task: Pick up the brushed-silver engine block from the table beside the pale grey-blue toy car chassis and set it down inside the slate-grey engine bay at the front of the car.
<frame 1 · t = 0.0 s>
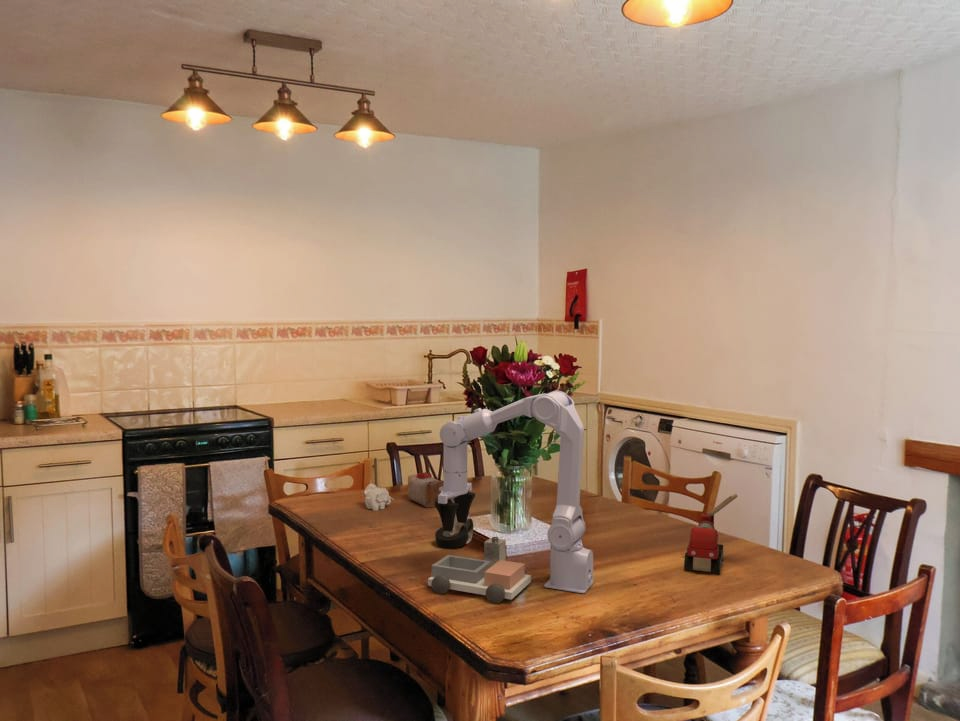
hand: (455, 526, 195), 10 cm above the table, tool pointing down, fingers open, 7 cm apart
engine block: (494, 565, 198), on the table
chassis: (479, 587, 183), on the table
caster wheel: (456, 544, 216), on the table
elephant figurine: (378, 508, 251), on the table
toy fire truck: (710, 566, 199), on the table
food item: (425, 503, 258), on the table
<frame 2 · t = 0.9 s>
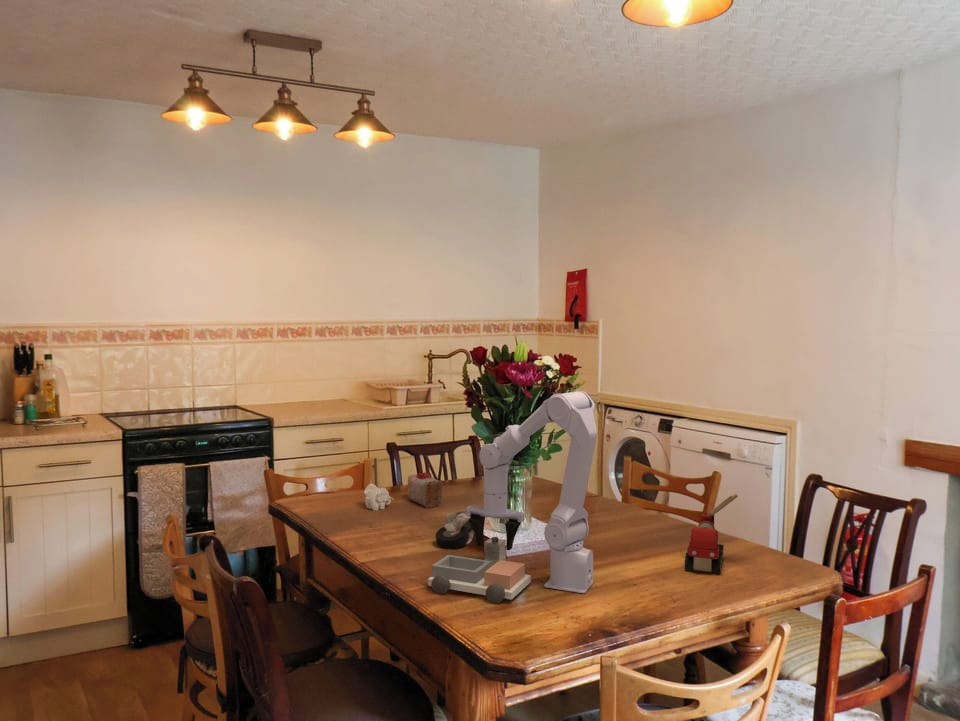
hand: (494, 547, 198), 4 cm above the table, tool pointing down, fingers open, 7 cm apart
nothing on the table moved.
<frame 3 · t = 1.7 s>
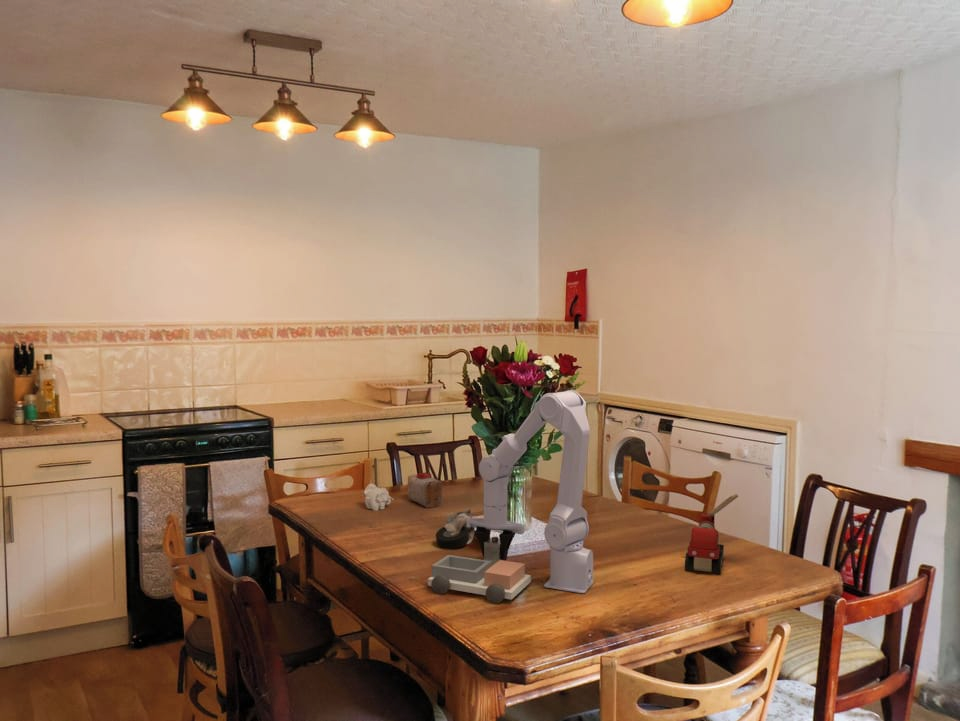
hand: (494, 559, 198), 1 cm above the table, tool pointing down, fingers closed on engine block, 4 cm apart
engine block: (494, 564, 198), on the table, touching gripper
everything else where it was.
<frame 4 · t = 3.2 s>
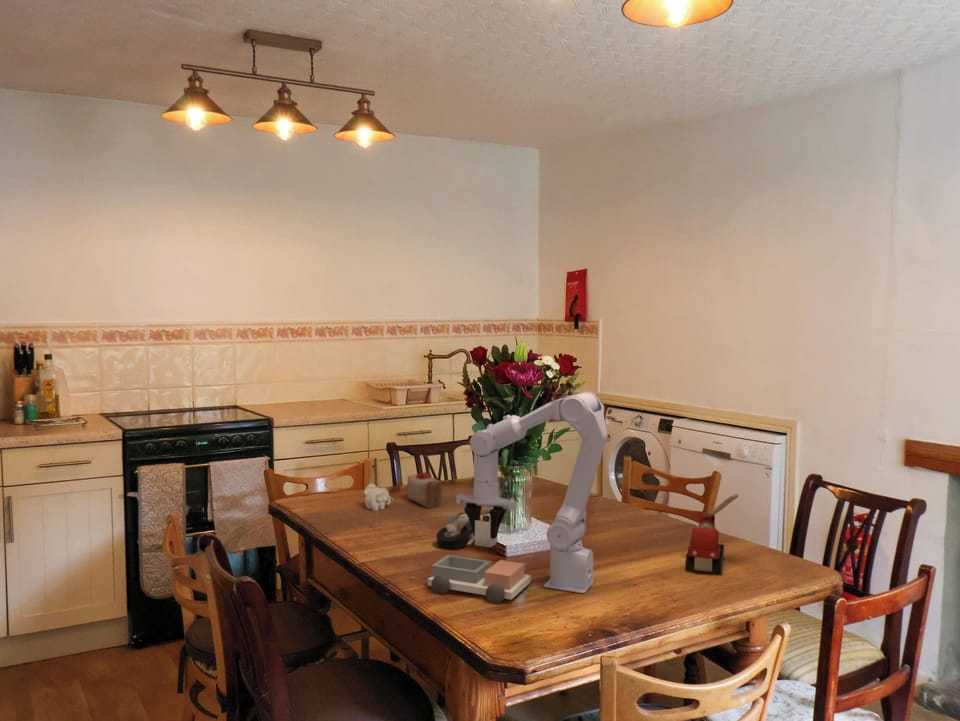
hand: (485, 536, 193), 8 cm above the table, tool pointing down, fingers closed on engine block, 4 cm apart
engine block: (485, 544, 194), point 6 cm above the table, touching gripper
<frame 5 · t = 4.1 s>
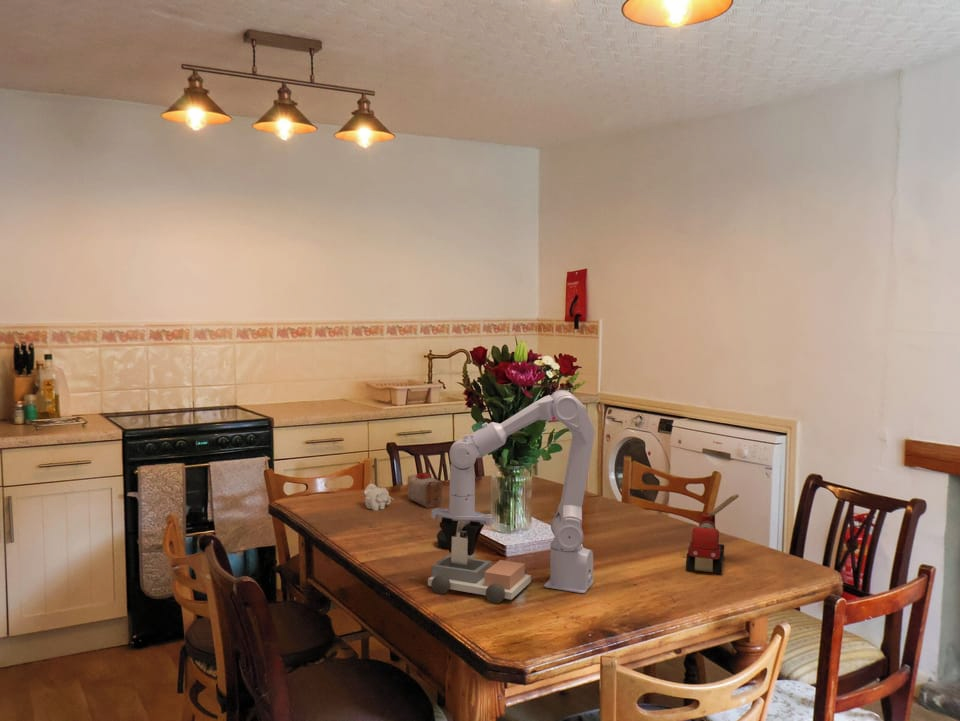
hand: (461, 552, 184), 7 cm above the table, tool pointing down, fingers closed on engine block, 4 cm apart
engine block: (462, 561, 185), point 5 cm above the table, touching gripper
when the fingers open (5 cm above the table, at t = 4.8 s): engine block stays where it is, resting on chassis.
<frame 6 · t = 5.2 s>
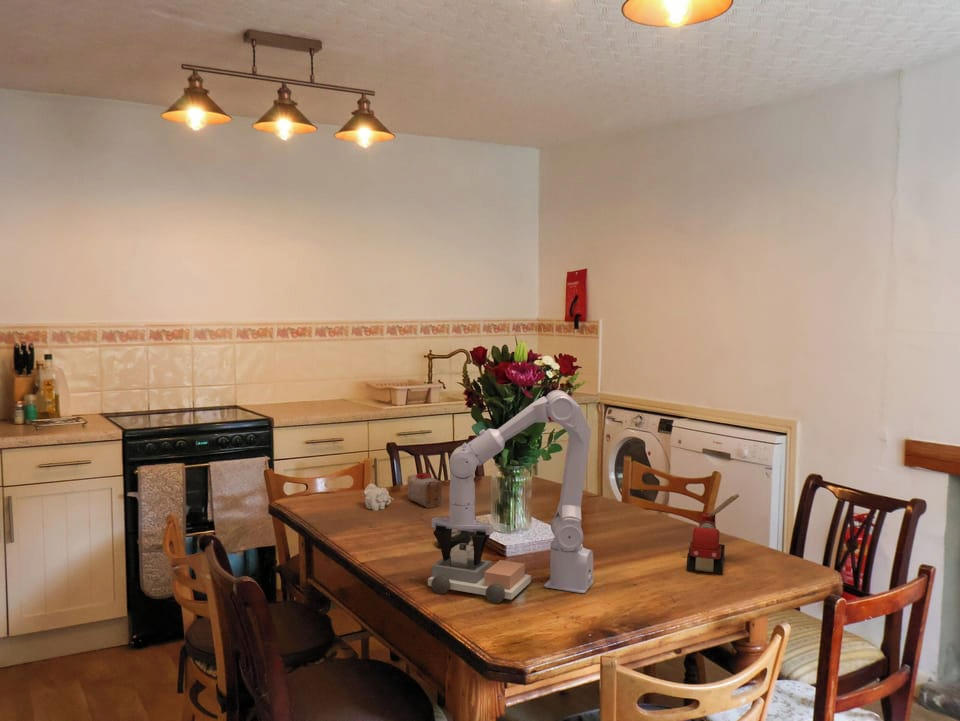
hand: (461, 561, 184), 5 cm above the table, tool pointing down, fingers open, 7 cm apart
engine block: (462, 573, 185), point 2 cm above the table, touching chassis
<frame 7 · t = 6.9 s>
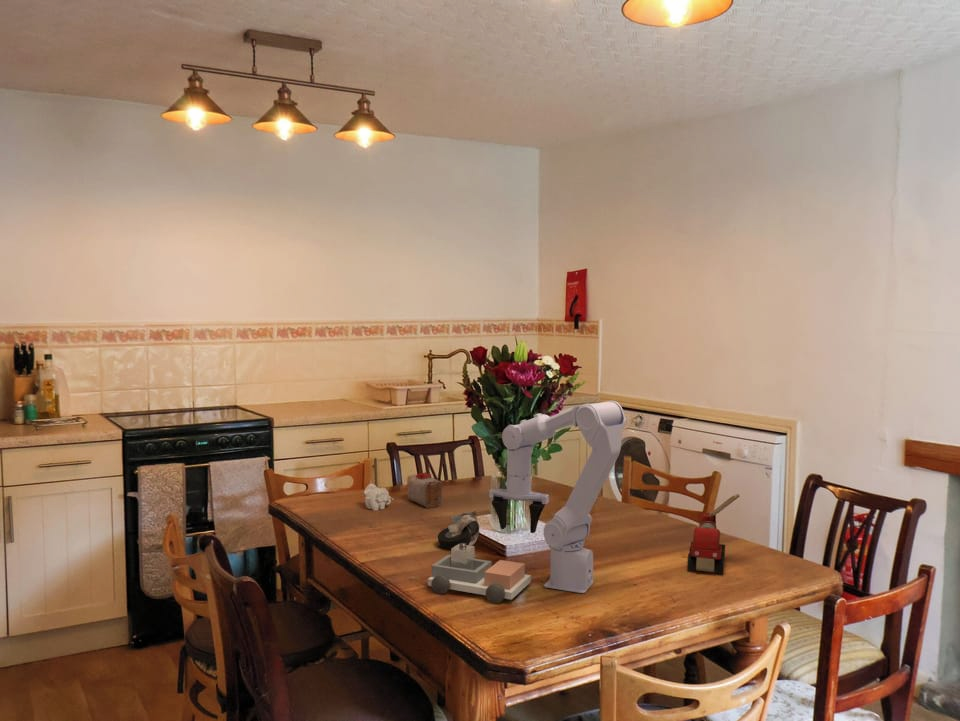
hand: (518, 530, 195), 9 cm above the table, tool pointing down, fingers open, 7 cm apart
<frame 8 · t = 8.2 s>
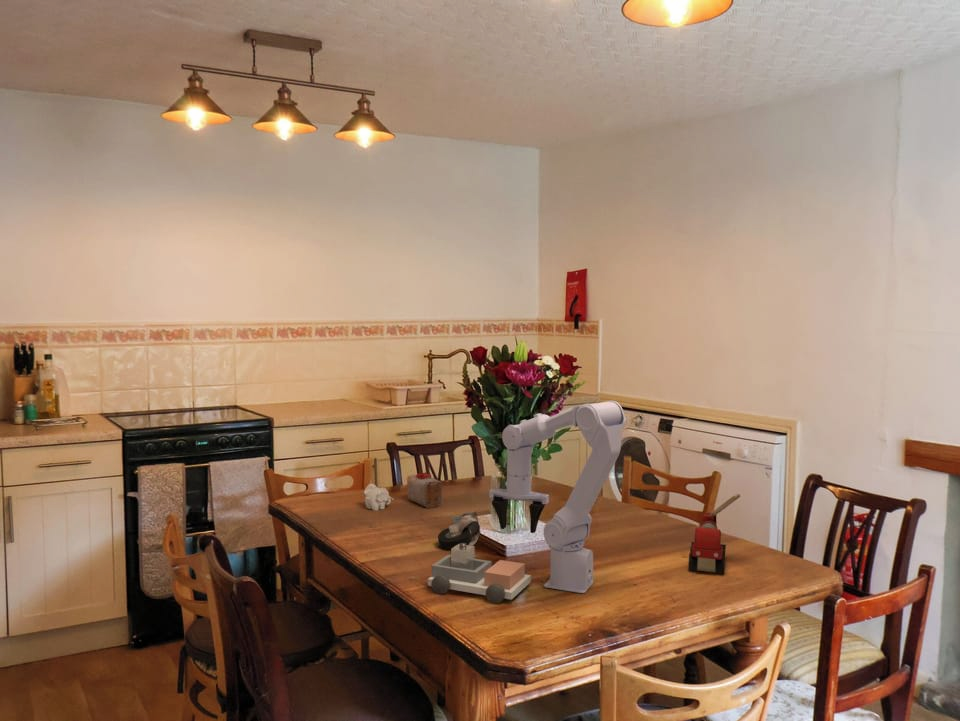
hand: (518, 530, 195), 9 cm above the table, tool pointing down, fingers open, 7 cm apart
at the end: engine block 0.6 cm from the target spot on the chassis, point 2.5 cm above the chassis's base; engine block tilted 0°; the gripper is holding nothing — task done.
